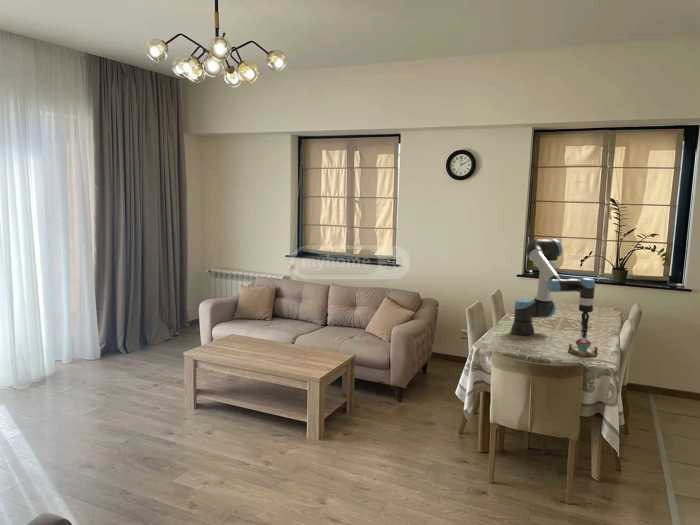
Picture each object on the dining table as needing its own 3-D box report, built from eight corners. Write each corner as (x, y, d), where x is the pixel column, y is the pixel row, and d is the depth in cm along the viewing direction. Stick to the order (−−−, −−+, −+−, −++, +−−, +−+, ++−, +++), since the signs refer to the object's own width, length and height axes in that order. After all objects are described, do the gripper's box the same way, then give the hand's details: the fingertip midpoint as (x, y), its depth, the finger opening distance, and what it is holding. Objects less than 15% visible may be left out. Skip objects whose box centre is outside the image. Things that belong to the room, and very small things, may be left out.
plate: (577, 357, 304) (578, 350, 303) (562, 349, 320) (563, 342, 319) (603, 356, 306) (603, 349, 306) (587, 348, 322) (587, 341, 321)
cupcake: (573, 348, 318) (574, 328, 316) (587, 348, 317) (589, 329, 315) (577, 352, 309) (579, 332, 308) (592, 353, 308) (594, 333, 307)
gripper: (594, 309, 297) (591, 345, 300) (592, 301, 319) (589, 334, 323) (579, 308, 299) (576, 344, 302) (578, 299, 322) (575, 333, 325)
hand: (583, 339), depth 312 cm, fingers open, 13 cm apart
